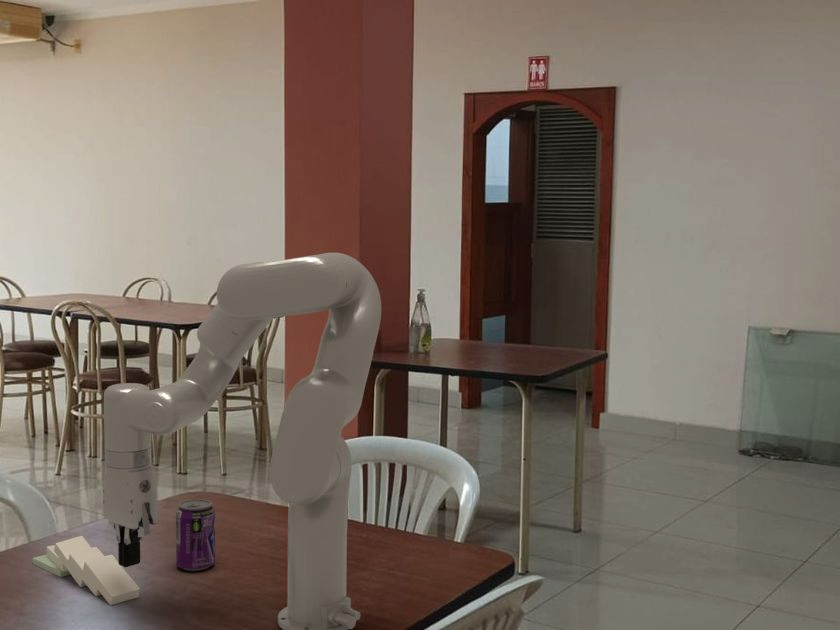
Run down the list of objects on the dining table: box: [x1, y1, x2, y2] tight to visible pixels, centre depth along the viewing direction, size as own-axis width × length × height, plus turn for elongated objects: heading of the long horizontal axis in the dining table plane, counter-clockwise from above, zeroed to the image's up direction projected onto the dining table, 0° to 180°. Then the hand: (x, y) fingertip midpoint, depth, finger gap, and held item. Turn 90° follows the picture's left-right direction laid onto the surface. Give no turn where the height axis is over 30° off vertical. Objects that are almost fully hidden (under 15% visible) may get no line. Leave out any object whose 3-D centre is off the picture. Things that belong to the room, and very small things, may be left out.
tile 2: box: [68, 546, 105, 597], centre depth 180 cm, size 2×5×10 cm
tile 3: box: [54, 535, 92, 588], centre depth 184 cm, size 2×5×10 cm
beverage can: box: [175, 498, 216, 572], centre depth 191 cm, size 7×7×12 cm
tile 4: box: [46, 544, 68, 572], centre depth 190 cm, size 2×5×10 cm
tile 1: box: [83, 554, 141, 606], centre depth 177 cm, size 2×5×10 cm
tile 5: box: [32, 553, 71, 578], centre depth 190 cm, size 2×5×10 cm
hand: (129, 564), depth 173 cm, fingers closed
